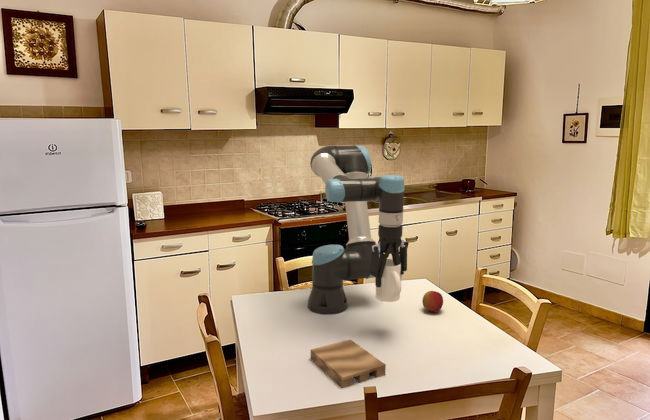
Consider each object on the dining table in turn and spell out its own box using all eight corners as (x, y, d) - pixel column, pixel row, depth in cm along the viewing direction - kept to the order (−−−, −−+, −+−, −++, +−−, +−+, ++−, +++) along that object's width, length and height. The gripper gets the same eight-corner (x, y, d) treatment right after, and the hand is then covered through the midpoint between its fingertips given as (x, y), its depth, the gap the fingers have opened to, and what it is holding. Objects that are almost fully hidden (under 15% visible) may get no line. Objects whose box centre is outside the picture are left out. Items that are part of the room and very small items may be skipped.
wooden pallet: (310, 358, 140) (310, 349, 140) (350, 348, 147) (350, 339, 147) (342, 388, 125) (342, 377, 124) (385, 374, 132) (385, 364, 131)
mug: (386, 308, 147) (388, 271, 145) (370, 294, 158) (371, 260, 156) (410, 304, 150) (411, 268, 147) (392, 291, 161) (394, 257, 158)
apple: (447, 312, 176) (448, 292, 175) (432, 317, 171) (433, 296, 170) (432, 306, 182) (433, 286, 181) (417, 310, 178) (418, 290, 176)
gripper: (373, 230, 141) (371, 303, 145) (421, 223, 150) (417, 293, 154) (359, 225, 147) (357, 295, 152) (406, 219, 156) (403, 286, 161)
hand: (387, 294), depth 153 cm, fingers closed on mug, 6 cm apart
